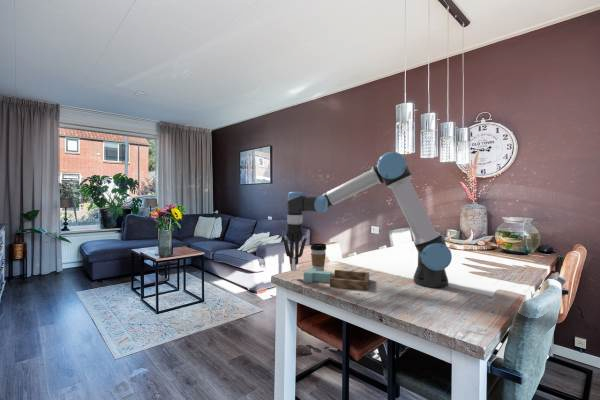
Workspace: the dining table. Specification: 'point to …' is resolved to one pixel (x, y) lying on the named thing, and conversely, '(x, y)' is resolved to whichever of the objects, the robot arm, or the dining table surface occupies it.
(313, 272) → the tee block
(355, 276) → the dock
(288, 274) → the dining table surface
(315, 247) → the coffee cup
